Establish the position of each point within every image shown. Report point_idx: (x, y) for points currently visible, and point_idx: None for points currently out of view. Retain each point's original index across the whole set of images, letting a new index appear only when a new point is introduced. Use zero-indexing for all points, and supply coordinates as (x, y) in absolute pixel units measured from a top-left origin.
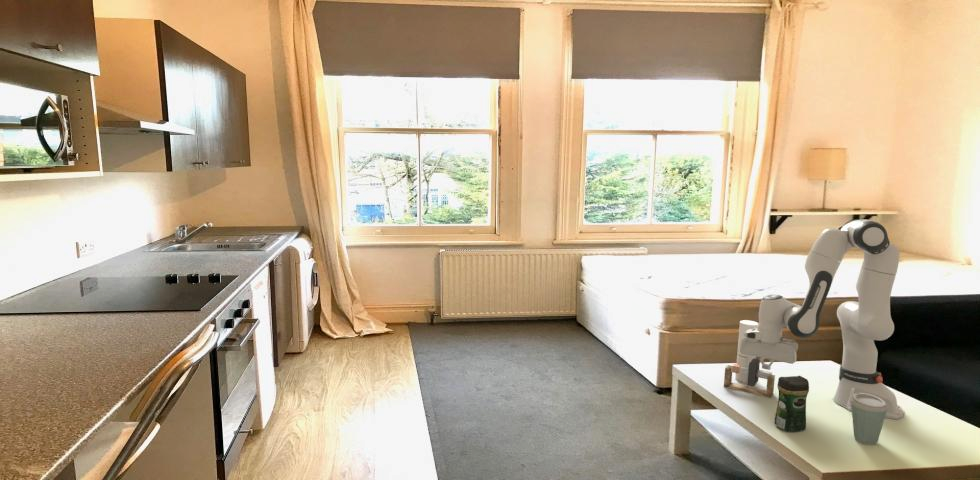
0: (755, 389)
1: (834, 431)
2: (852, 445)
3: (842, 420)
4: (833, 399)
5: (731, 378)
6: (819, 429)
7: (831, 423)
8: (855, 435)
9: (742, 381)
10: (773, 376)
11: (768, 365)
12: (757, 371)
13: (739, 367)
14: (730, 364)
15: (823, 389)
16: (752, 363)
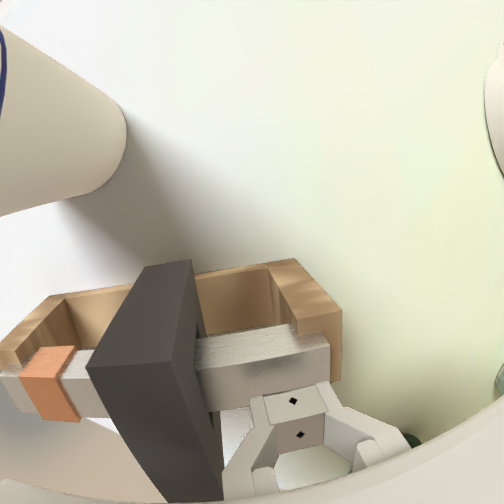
0: (204, 306)
1: (472, 386)
2: (482, 408)
3: (501, 304)
4: (490, 135)
5: (55, 315)
6: (445, 408)
7: (477, 350)
8: (500, 392)
9: (83, 194)
10: (337, 346)
11: (326, 445)
12: (218, 410)
13: (80, 416)
14: (14, 394)
15: (434, 22)
16: (184, 492)
